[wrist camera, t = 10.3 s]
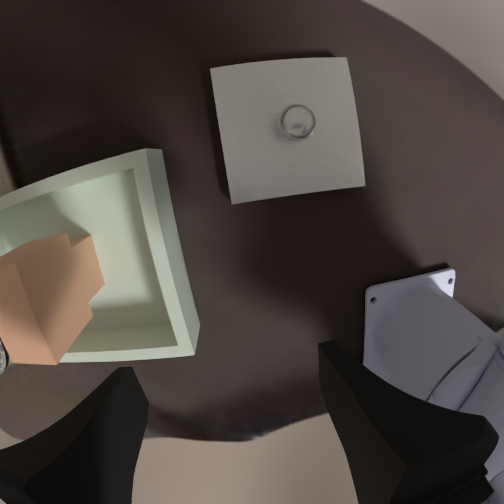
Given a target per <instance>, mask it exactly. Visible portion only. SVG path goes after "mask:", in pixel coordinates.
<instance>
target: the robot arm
mask: <svg viewBox="0 0 504 504" xmlns="http://www.w3.org/2000/svg"><path fill="white" fill-rule="evenodd" d="M449 279H450V281H449V282H448V280H449ZM454 281H455V270H453V269H452V268H447V269H443V270H438V271H434V272H430V273H426V274H422V275H418V276H413V277H409V278H405V279H400V280H396V281H391V282H387V283H382V284H378V285H373V286H370V287H368V288H367V290H366V293H365V333H364V354H363V364H361V363H360V362H359V361H358V360H356V359H355V358H354V357H353V356H352V355H351V354H349V353H348V352H347V351H346V350H345V349H344V348H343V347H342V346H340V345H339V344H338V343H337V342H336V341H334V340H332V341H327V342H323V343H318V353H319V378H320V386H321V390H322V394H323V397H324V401H325V405H326V407H327V410H328V412H329V414H330V417H331V419H332V422H333V424H334V426H335V429H336V431H337V434H338V436H339V438H340V441H341V443H342V446H343V448H344V451H345V453H346V456H347V460H348V463H349V467H350V471H351V474H352V478H353V482H354V486H355V490H356V494H357V499H358V503H359V504H504V334H503V335H502V337H501V338H500V337H499V336H498V335H497V334H496V333H495V332H493V331H492V330H491V329H490V328H489V327H488V326H486V325H485V324H484V323H483V322H482V321H480V320H479V319H478V318H477V317H476V316H474V315H473V314H472V313H471V312H469V311H468V310H467V309H466V308H464V307H463V306H462V305H461V304H459V303H458V302H457V301H456V300H454V299H453V298H452V297H453V289H454ZM373 297H375V298H374V300H373V301H370V300H371V298H373ZM148 408H149V402H148V400H147V398H146V396H145V394H144V392H143V390H142V388H141V386H140V383H139V381H138V379H137V377H136V375H135V372H134V370H133V368H132V367H119V368H118V369H116V370H115V371H114V372H113V373H112V374H111V375H110V376H108V377H107V378H106V379H105V380H104V381H103V382H102V383H101V384H100V385H99V386H98V387H97V388H96V389H95V390H94V391H93V392H92V393H91V394H90V395H88V396H87V397H86V398H85V399H84V400H83V401H82V402H81V403H80V404H78V405H77V406H76V407H75V408H74V409H73V410H71V411H70V412H69V413H68V414H67V415H65V416H64V417H63V418H61V419H60V420H59V421H57V422H56V423H54V424H53V425H51V426H50V427H48V428H47V429H45V430H43V431H41V432H40V433H38V434H36V435H34V436H33V437H31V438H29V439H27V440H25V441H22V442H20V443H18V444H15V445H13V446H10V447H7V448H5V449H1V450H0V499H2V500H3V501H4V502H5V503H6V504H131V502H132V488H133V477H134V472H135V466H136V463H137V459H138V455H139V451H140V447H141V444H142V440H143V436H144V432H145V428H146V424H147V417H148Z"/></svg>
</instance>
